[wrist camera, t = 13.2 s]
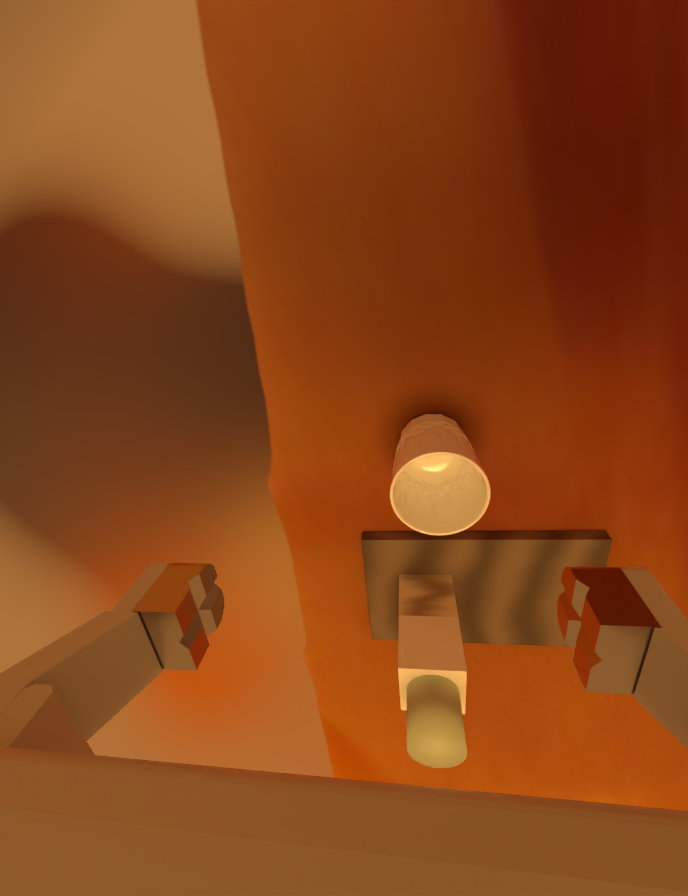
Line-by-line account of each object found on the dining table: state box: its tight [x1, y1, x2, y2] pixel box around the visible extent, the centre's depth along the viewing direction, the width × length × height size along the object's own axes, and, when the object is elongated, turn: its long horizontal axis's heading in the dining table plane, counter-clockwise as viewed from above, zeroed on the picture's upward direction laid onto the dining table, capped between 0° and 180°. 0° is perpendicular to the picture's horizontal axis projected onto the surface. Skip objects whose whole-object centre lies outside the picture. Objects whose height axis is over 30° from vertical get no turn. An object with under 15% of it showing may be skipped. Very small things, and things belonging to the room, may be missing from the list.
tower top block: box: [398, 615, 467, 714], centre depth 40 cm, size 6×6×6 cm
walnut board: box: [362, 531, 612, 647], centre depth 48 cm, size 26×16×2 cm, turn 96°
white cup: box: [390, 414, 490, 535], centre depth 37 cm, size 8×8×10 cm
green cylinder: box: [407, 675, 467, 768], centre depth 35 cm, size 5×5×5 cm
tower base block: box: [399, 574, 458, 617], centre depth 46 cm, size 6×6×6 cm
